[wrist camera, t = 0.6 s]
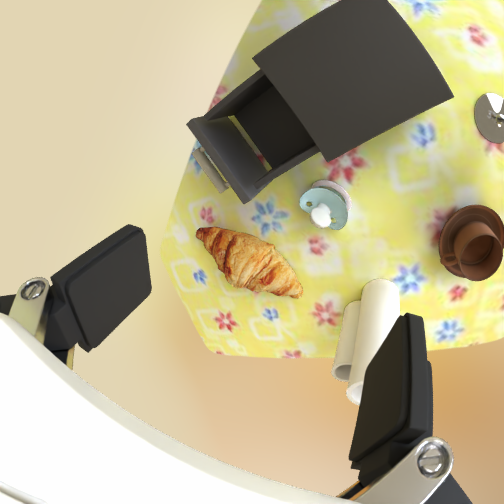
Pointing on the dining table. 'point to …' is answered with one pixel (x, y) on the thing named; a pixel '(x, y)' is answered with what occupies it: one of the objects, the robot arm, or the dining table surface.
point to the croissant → (250, 262)
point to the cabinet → (353, 74)
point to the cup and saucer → (472, 243)
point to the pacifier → (326, 205)
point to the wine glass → (490, 117)
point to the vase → (364, 333)
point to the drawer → (260, 131)
